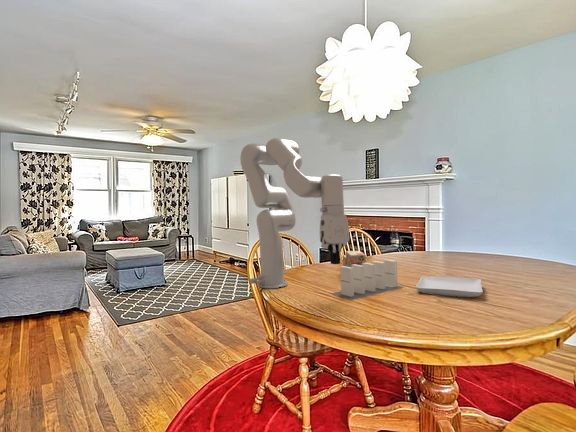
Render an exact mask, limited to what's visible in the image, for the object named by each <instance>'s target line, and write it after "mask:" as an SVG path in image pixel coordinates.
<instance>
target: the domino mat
mask: <svg viewBox="0 0 576 432" xmlns="http://www.w3.org/2000/svg"><path fill="white" fill-rule="evenodd" d="M385 287H386V289H379V288H375V291H374V292H371V291H368V290H365V294H359V293H355V292H354V296H352V297H350V296H346V295H343V294H341V290H340V291H337V292H331V293H330V294H331V295H335V296H338V297H341V298H344V299H345V298H346V299H347V300H348V299H349V300H351V301H353V300H357V299H361V298H366V297H370V296H373V295H379V294H382V293H386V292H387V293H388V292H391V291H394V290H399V289H402V288H405V286H402V285H398V284H397V287H391V286H386V285H385Z"/></svg>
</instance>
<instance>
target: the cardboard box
mask: <svg viewBox="0 0 576 432" xmlns="http://www.w3.org/2000/svg"><path fill="white" fill-rule="evenodd" d="M366 258H367V256H366V254H365V253H364V252H362V251H361V250H346V251H345V254H342V266H346V267H351V265H353V264H356V265H362V263H367V262H366V261H367V259H366Z"/></svg>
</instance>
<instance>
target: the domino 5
mask: <svg viewBox="0 0 576 432" xmlns="http://www.w3.org/2000/svg"><path fill="white" fill-rule="evenodd" d="M383 262H385V285H386V286H391V287H397V285H398V261H397V260H393V259H392V260H391V259H383Z"/></svg>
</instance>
